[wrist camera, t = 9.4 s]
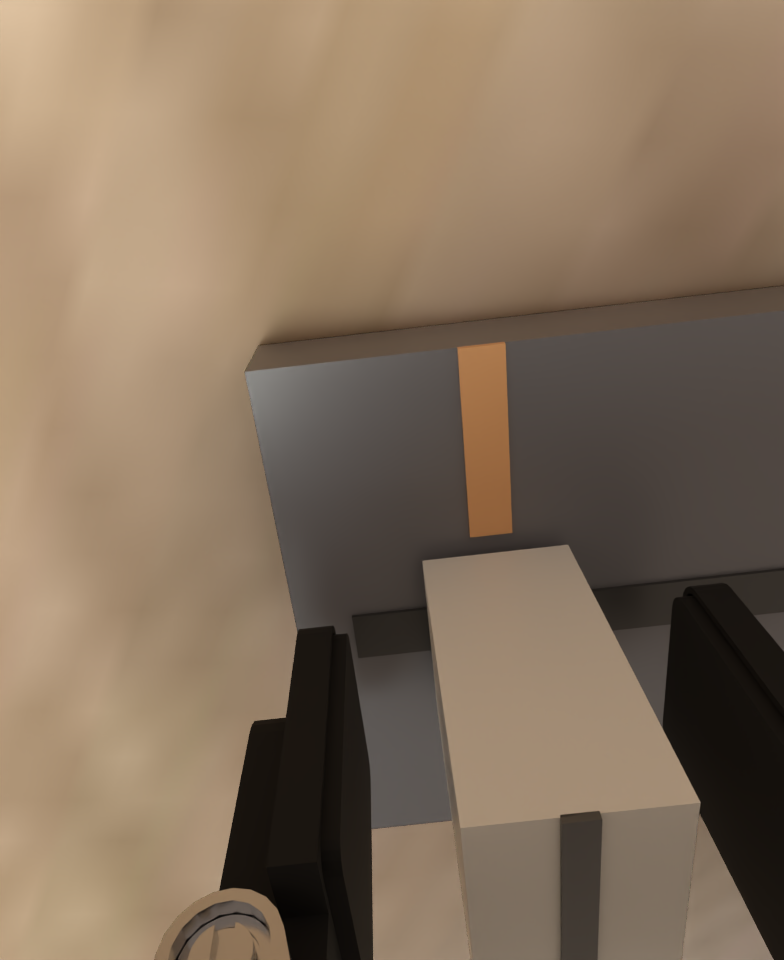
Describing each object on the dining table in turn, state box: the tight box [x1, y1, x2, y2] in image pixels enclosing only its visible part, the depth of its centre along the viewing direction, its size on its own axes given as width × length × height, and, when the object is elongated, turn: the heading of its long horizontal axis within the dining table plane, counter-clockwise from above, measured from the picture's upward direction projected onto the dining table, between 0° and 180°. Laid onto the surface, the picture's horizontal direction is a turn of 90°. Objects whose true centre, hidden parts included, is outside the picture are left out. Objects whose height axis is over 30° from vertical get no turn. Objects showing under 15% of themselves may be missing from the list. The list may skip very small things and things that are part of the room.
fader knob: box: [422, 545, 701, 960], centre depth 10 cm, size 3×2×5 cm
